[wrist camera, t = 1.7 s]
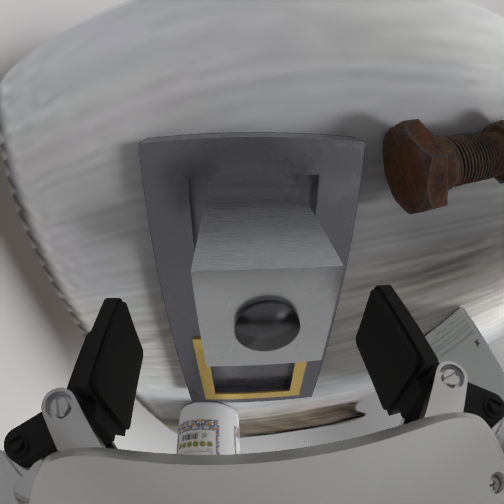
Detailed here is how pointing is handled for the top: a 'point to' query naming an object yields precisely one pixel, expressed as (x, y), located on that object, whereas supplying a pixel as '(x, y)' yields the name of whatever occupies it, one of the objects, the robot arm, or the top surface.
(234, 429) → the bath foam
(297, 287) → the brushed steel block
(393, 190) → the bolt
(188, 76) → the top surface
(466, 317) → the skincare box
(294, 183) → the grey slotted board
